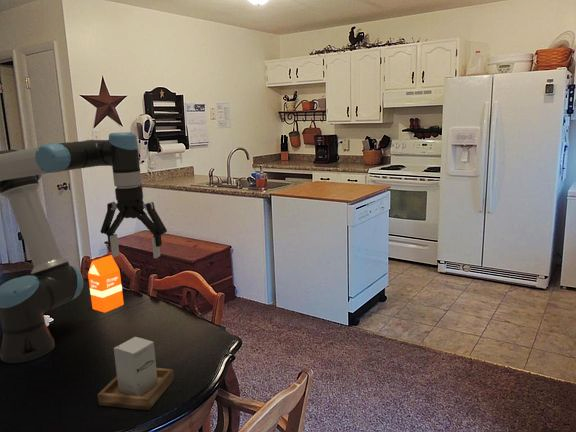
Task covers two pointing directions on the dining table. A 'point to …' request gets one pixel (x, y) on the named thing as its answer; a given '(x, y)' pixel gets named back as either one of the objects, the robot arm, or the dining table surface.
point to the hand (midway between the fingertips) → (136, 256)
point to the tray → (143, 402)
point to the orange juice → (105, 284)
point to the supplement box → (135, 366)
